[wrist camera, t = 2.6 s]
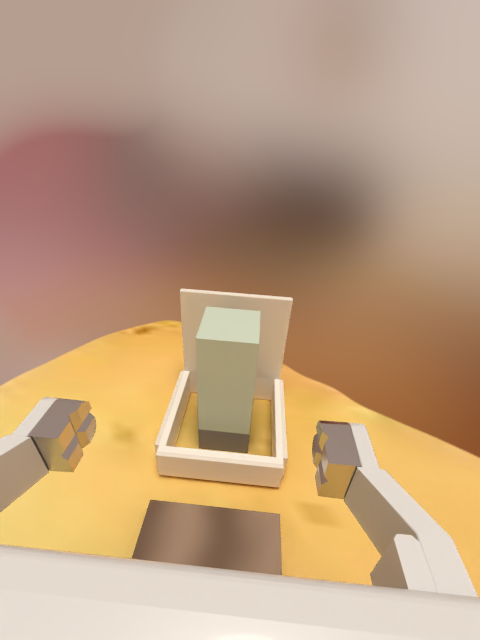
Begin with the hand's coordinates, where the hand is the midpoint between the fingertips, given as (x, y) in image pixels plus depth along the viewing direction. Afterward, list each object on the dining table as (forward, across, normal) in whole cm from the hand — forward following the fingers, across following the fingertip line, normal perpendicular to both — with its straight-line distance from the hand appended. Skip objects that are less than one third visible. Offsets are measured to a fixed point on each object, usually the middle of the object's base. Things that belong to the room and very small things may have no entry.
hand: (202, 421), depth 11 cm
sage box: (+14, +1, +19) cm, 24 cm away
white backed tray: (+14, +1, +19) cm, 24 cm away
